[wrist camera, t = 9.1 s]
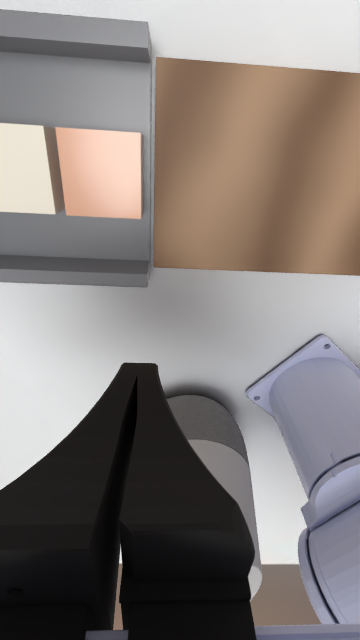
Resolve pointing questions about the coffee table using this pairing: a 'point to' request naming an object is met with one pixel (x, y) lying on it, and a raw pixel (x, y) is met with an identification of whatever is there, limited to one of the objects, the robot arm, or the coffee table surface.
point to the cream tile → (30, 170)
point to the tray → (81, 113)
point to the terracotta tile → (102, 172)
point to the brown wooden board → (256, 168)
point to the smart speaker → (221, 457)
